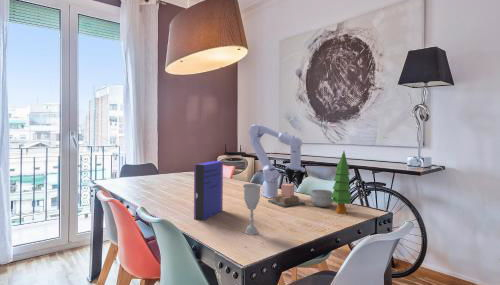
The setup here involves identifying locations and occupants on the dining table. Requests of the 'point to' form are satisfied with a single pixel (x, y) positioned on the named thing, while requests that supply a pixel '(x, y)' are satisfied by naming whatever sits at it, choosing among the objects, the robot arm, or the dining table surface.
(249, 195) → the chalice
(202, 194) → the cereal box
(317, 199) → the teacup
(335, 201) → the decorative tree
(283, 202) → the base
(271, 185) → the robot arm
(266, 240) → the dining table surface
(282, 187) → the coral block
